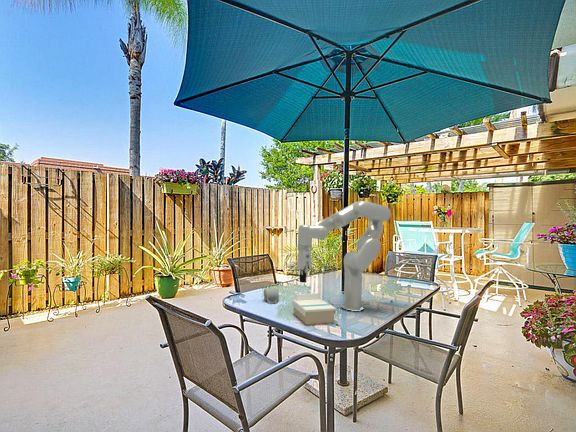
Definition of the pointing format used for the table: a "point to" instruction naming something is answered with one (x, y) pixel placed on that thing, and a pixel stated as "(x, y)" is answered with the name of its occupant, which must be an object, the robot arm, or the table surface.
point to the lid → (311, 303)
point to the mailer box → (315, 317)
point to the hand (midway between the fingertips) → (302, 282)
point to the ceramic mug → (271, 295)
